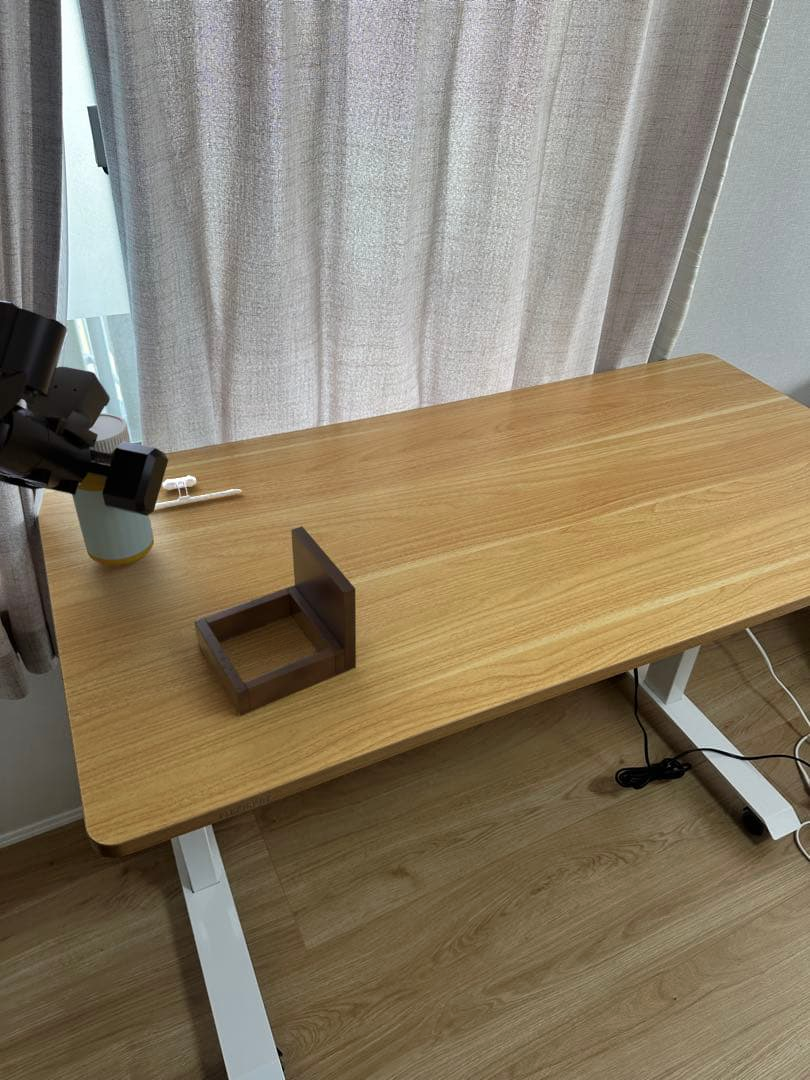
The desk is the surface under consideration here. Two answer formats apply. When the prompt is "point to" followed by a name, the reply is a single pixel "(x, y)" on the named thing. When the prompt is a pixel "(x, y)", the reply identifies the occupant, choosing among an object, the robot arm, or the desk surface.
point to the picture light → (185, 482)
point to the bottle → (107, 528)
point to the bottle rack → (318, 610)
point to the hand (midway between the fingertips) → (115, 484)
